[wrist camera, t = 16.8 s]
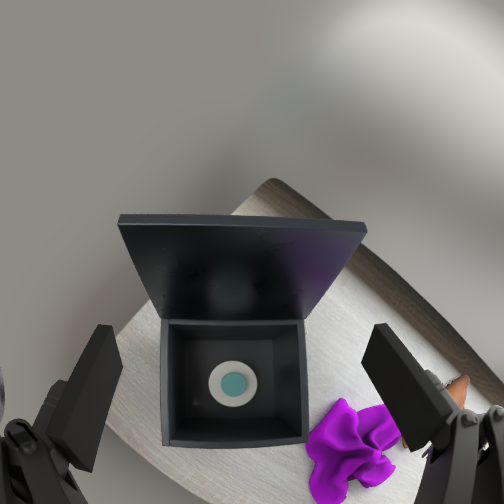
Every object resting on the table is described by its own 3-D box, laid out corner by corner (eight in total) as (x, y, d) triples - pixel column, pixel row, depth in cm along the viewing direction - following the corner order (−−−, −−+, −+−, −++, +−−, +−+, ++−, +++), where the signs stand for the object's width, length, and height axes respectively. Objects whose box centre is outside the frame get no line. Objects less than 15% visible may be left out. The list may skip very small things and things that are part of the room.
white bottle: (211, 397, 36) (208, 408, 25) (211, 363, 38) (207, 360, 27) (247, 396, 37) (259, 407, 25) (246, 362, 39) (258, 359, 27)
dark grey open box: (279, 420, 36) (309, 442, 23) (181, 421, 34) (162, 446, 21) (276, 335, 42) (304, 316, 28) (180, 334, 40) (161, 315, 27)
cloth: (310, 397, 38) (324, 401, 32) (405, 394, 39) (427, 394, 33) (291, 514, 29) (301, 530, 23) (386, 500, 30) (404, 509, 24)
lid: (368, 231, 16) (364, 221, 16) (116, 224, 14) (119, 213, 15) (305, 319, 28) (304, 312, 28) (160, 318, 26) (160, 311, 26)
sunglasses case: (405, 452, 34) (422, 441, 30) (390, 423, 39) (404, 410, 35) (465, 408, 37) (483, 393, 33) (451, 385, 43) (466, 369, 39)
